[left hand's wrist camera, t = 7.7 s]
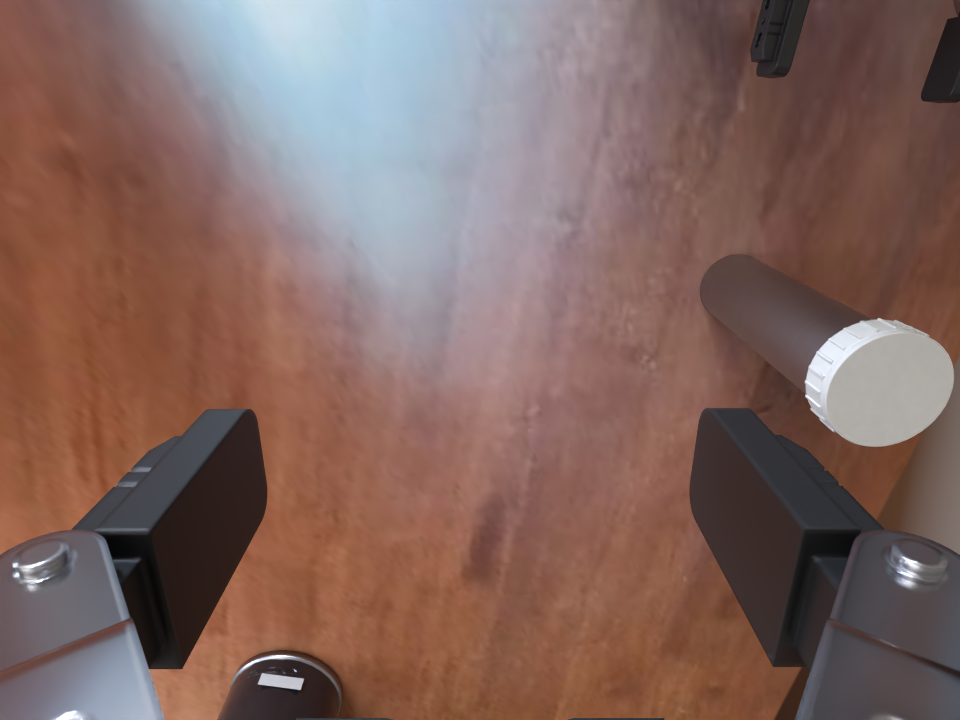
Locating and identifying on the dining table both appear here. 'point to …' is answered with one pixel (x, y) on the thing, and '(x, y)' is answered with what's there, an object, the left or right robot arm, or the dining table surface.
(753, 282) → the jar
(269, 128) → the dining table surface
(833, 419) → the lid
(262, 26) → the dining table surface
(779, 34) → the right robot arm
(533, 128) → the dining table surface
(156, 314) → the dining table surface
